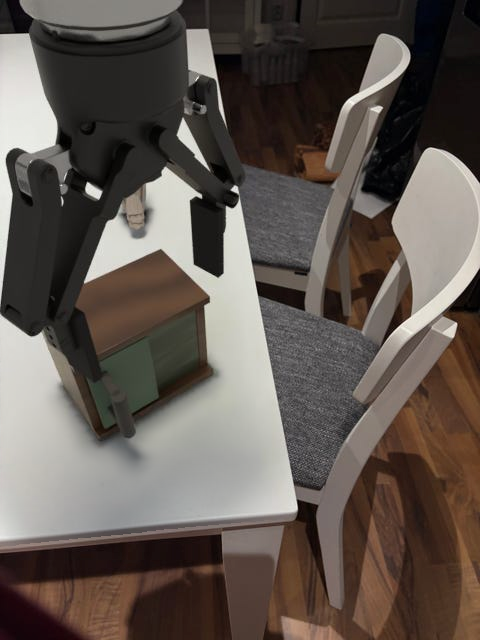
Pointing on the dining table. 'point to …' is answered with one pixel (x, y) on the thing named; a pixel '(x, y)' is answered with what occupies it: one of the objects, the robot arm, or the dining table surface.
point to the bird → (135, 208)
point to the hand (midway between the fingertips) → (152, 315)
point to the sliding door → (125, 386)
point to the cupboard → (142, 329)
